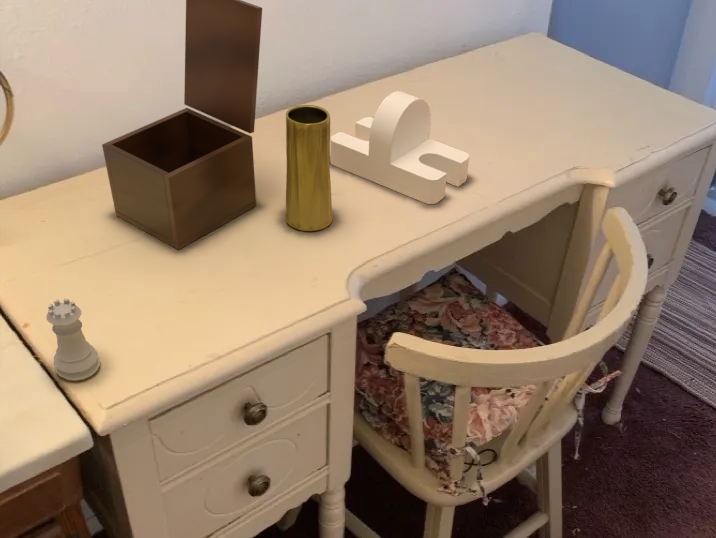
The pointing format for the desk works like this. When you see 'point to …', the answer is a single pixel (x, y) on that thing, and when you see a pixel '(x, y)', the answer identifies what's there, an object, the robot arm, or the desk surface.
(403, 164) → the u-slot stand
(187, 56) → the lid
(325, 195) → the vase
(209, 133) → the chest
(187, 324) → the desk surface
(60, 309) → the rook chess piece
